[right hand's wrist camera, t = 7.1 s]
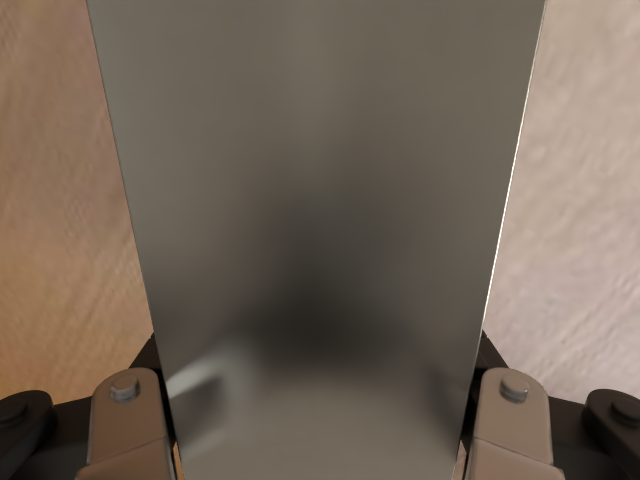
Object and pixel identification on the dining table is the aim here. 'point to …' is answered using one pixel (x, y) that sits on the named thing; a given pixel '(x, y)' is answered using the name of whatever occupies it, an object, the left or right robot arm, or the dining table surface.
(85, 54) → the dining table surface
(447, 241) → the box
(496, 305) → the dining table surface
